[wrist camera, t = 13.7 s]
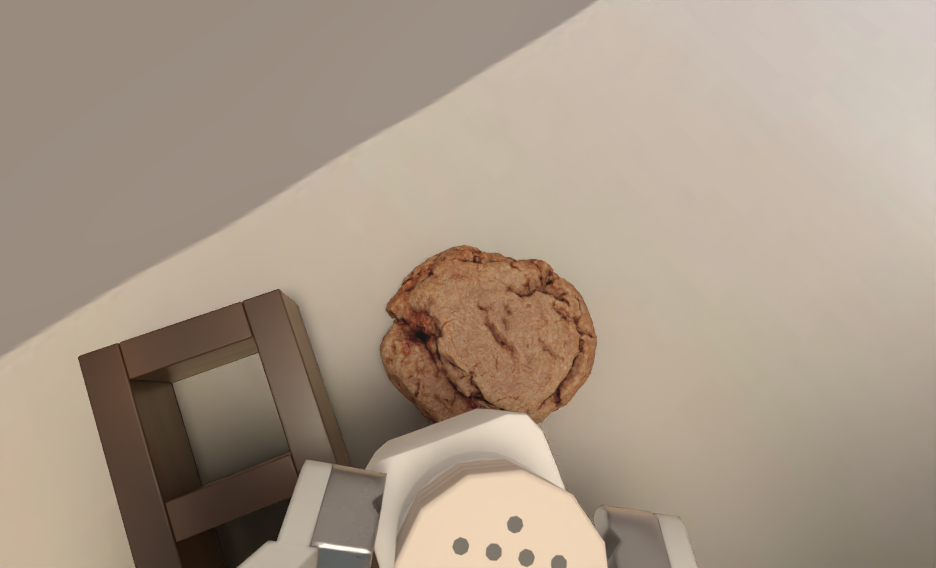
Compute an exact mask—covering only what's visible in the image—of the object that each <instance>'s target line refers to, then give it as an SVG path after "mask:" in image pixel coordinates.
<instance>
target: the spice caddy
mask: <svg viewBox="0 0 936 568" xmlns="http://www.w3.org/2000/svg"><path fill="white" fill-rule="evenodd" d="M258 352H259V355H260V358H261V362H262V365H263V368H264V371H265V374H266V377H267V380H268V383H269V386H270V390H271V393H272V396H273V399H274V402H275V405H276V408H277V411H278V414H279V418H280V421H281V424H282V427H283V430H284V433H285V436H286V439H287V442H288V445H289V449H290V452H289V453H286V454H284V455H281V456H279V457H276V458H273V459H271V460H268V461H266V462H263V463H260V464H258V465H255V466H253V467H250V468H247V469H245V470H242V471H240V472H237V473H234V474H232V475H229V476H227V477H224V478H222V479H219V480H216V481H214V482H211V483H209V484H206V485H203V486H202V485H201V482H200V479H199V475H198V472H197V469H196V465H195V462H194V458H193V455H192V452H191V448H190V445H189V442H188V438H187V435H186V431H185V428H184V425H183V421H182V418H181V415H180V411H179V408H178V405H177V401H176V398H175V394H174V391H173V388H172V384H171V382H176V381H179V380H181V379H184V378H187V377H190V376H193V375H196V374H198V373H201V372H204V371H207V370H210V369H213V368H215V367H218V366H221V365H224V364H227V363H230V362H232V361H235V360H238V359H241V358H244V357H247V356H249V355H252V354H255V353H258ZM78 360H79V363H80V367H81V371H82V374H83V378H84V381H85V385H86V389H87V392H88V396H89V400H90V403H91V407H92V411H93V414H94V418H95V421H96V425H97V429H98V432H99V436H100V440H101V443H102V447H103V451H104V454H105V458H106V462H107V465H108V469H109V472H110V476H111V480H112V483H113V487H114V491H115V494H116V498H117V502H118V505H119V509H120V513H121V516H122V520H123V523H124V527H125V531H126V534H127V538H128V542H129V545H130V549H131V553H132V556H133V560H134V563H135V567H136V568H226V566H225V563H224V560H223V556H222V553H221V549H220V546H219V543H218V539H217V536H216V533H215V529H214V528H215V527H218V526H220V525H223V524H225V523H228V522H230V521H233V520H235V519H238V518H240V517H243V516H245V515H248V514H250V513H253V512H255V511H258V510H260V509H263V508H265V507H268V506H270V505H273V504H275V503H278V502H280V501H283V500H285V499H288V498H290V497H292V495H293V492H294V489H295V486H296V483H297V480H298V477H299V474H300V472H301V469H302V467H303V465H304V463H305V461H306V460H312V461H319V462H325V463H331V464H337V465H342V466H348V467H352V466H351V463H350V460H349V457H348V454H347V451H346V448H345V445H344V442H343V439H342V436H341V433H340V430H339V427H338V424H337V421H336V418H335V415H334V412H333V409H332V406H331V403H330V400H329V397H328V395H327V392H326V389H325V386H324V383H323V380H322V377H321V374H320V371H319V368H318V365H317V362H316V359H315V356H314V353H313V350H312V347H311V344H310V341H309V338H308V335H307V332H306V329H305V326H304V323H303V320H302V317H301V314H300V311H299V308H298V306H297V305H296V304H295V303H294V302H293V301H292V300H291V299H290V298H288V297H287V296H286V295H285V294H284V293H283V292H282V291H281V290H280V289H277V290H274V291H271V292H268V293H265V294H262V295H259V296H256V297H253V298H250V299H247V300H244V301H243V302H238V303H235V304H232V305H229V306H226V307H223V308H220V309H218V310H215V311H212V312H209V313H206V314H203V315H200V316H197V317H194V318H191V319H188V320H185V321H182V322H179V323H176V324H173V325H170V326H167V327H164V328H161V329H158V330H155V331H152V332H149V333H146V334H143V335H140V336H137V337H134V338H131V339H128V340H125V341H122V342H120V344H119V343H116V344H113V345H110V346H107V347H104V348H101V349H98V350H95V351H92V352H89V353H86V354H83V355H81V356H79V357H78ZM371 568H379V564H378V561H377V557H376V554H375V551H374V552H373V557H372V562H371Z"/></svg>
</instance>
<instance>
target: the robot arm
mask: <svg viewBox="0 0 936 568" xmlns="http://www.w3.org/2000/svg"><path fill="white" fill-rule="evenodd" d="M386 477H387V473H381V472H376V471H370V470H365V469H359V468H353V467H348V466H342V465H337V464H331V463H325V462H319V461H312V460H306V461H305V463H304V465H303V467H302V469H301V472H300V474H299V477H298V480H297V483H296V486H295V489H294V492H293V495H292V498H291V501H290V504H289V507H288V509H287V512H286V515H285V518H284V521H283V524H282V527H281V530H280V533H279V536H278V539H277V541H267V542H266V543H265V544H263V545H262V546H261V547H260V548H259V549H258V550H256V551H255V552H254V553H253V554H252V555H251V556H250V557H248V558H247V559H246V560H245V561H244V562H243V563H241V564H240V565H239V566H238V567H237V568H371V562H372V557H373V552H374V547H375V541H376V536H377V530H378V525H379V519H380V513H381V508H382V502H383V495H384V490H385V484H386ZM593 519H594V525H595V526H594V527H595V529H596V530H597V532H598V533H599V535H600V536H601V537H602V539H603V540H604V542H605V549H606V558H607V567H608V568H698V566H697V563H696V560H695V557H694V554H693V550H692V547H691V544H690V541H689V538H688V535H687V531H686V528H685V525H684V522H683V521H682V520H681V518H680V517H677V516H671V515H664V514H657V513H651V512H648V511H641V510H634V509H626V508H619V507H612V506H605V505H601V506H600V507H598V508H597V510H596V512H595V514H594V516H593Z"/></svg>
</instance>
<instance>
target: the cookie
mask: <svg viewBox="0 0 936 568" xmlns="http://www.w3.org/2000/svg"><path fill="white" fill-rule="evenodd" d="M386 311H387V312H388V313H389V315H390V316H391V317H392V318H396V319H395V320H394V322H393V323H394V324H393V326H392V327H391V329H390V330H389V331H388V333H387V334H386V335H385V337H384V338H383V341H382V344H381V346H380V353H381V358H382V362H383V364H384V367H385V370H386V372H387V374H388V376H389V379H390V380H391V381H392V383H393V384H394V385H395V386H396V387H397V388H398V389H399V391H400V392H401V393H402V394H404V395H405V396H406V397H407V398H408V399H409V400H410V401H412V402H413V403H414V404H415V405H416V406H418V408H419V410H420V411H421V412H422V414H424V415H425V416H426V417H428V418H429V419H430V420H432V421H433V422H434V423H438V422H441V421H444V420H447V419H449V418H452V417H455V416H458V415H460V414H463V413H466V412H469V411H472V410H474V409H493V410H501V411H510V412H519V413H526V414H527V415H528V416H529V417H530V418H531V419H532V420H533V421H534V422H535V423H536V424H538V423H540V422H542V421H543V420H544V419H545V418H546V417H547V416H548V415H549V414H550V413H551V412H553V411H555V410H558V409H559V408H560V407H563V406H565V405H566V404H567V403H568V402H569V401H570V400H571V399H572V397H573V396H574V395H575V393H576V392H577V391H578V389H579V388H580V387H581V386H582V385H583V384H584V383H585V381H586V380H587V378H588V377H589V375H590V373H591V370H592V366H593V363H594V358H595V350H596V346H597V339H596V338H597V336H596V334H595V331H594V327H593V322H592V319H591V317H590V314H589V312H588V309H587V306H586V304H585V302H584V300H583V298H582V296H581V294H580V293H579V292H578V291H577V290H576V289H575V288H574V286H573V285H572V284H571V283H569V282H567V281H566V280H565V279H563V278H560V277H559V276H558V275H557V274H556V273H554V272H553V269H552V268H551V266H550V265H549V264H547V263H546V262H544V261H542V260H537V259H530V260H518V261H517V260H515V259H513V258H510V257H504V256H502V255H501V254H499V253H486V252H482V251H480V250H478V248H476V247H471V246H465V245H463V246H457V247H452V248H450V249H448V250H446V251H444V252H441V253H439V254H436V255H434V256H433V257H431V258H429V259H427V260H426V261H425V262H424V263H422V264H421V265H419V266H417V267H416V268H415V269H414V270H413V271H412V272H411V273H410V274H409V275H408V276H407V277H406V278H405V279H404V282H403V284H402V286H401V288H400V290H399V291H398V292H397V294H396V295H395V296H394V297H393V298H392V299H391V300H390V301H389V303H388V304H387V307H386Z"/></svg>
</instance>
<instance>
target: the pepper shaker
mask: <svg viewBox="0 0 936 568" xmlns="http://www.w3.org/2000/svg"><path fill="white" fill-rule="evenodd" d="M365 470H370V471H376V472H381V473H387V477H386V484H385V490H384V495H383V502H382V508H381V513H380V519H379V525H378V530H377V536H376V541H375V547H374V551H375V554H376V557H377V561H378V564H379V568H608V567H607V558H606V549H605V542H604V540H603V539H602V537H601V536H600V535H599V533H598V532H597V530H596V529H595V527H594V526H593V524H592V523H591V521H590V520H589V518H588V517H587V515H586V514H585V512H584V511H583V509H582V508H581V506H580V505H579V503H578V502H577V500H576V499H575V497H574V496H573V494H571V493H569V492H568V491H566V490H565V487H564V484H563V482H562V479H561V476H560V474H559V471H558V468H557V466H556V463H555V461H554V458H553V456H552V453H551V451H550V448H549V446H548V444H547V441H546V439H545V436H544V434H543V431H542V429H541V428H540V427H539V426H538V425H537V424H536V423H535V422H534V421H533V420H532V419H531V418H530V417H529V416H528V415H527V414H526V413H519V412H510V411H501V410H493V409H474V410H472V411H469V412H466V413H463V414H460V415H458V416H455V417H452V418H449V419H447V420H444V421H441V422H438V423H436V424H433V425H430V426H427V427H425V428H422V429H419V430H416V431H413V432H411V433H408V434H405V435H402V436H400V437H397V438H394V439H391V440H389V441H387V442H386V443H385V444H384V445H382V446H381V447H380V448H379V449H378V450H377V451H376V452H375V453H374V455H373V457H372V458H371V460H370V462H369V464H368V465H367V467H366V469H365Z"/></svg>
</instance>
